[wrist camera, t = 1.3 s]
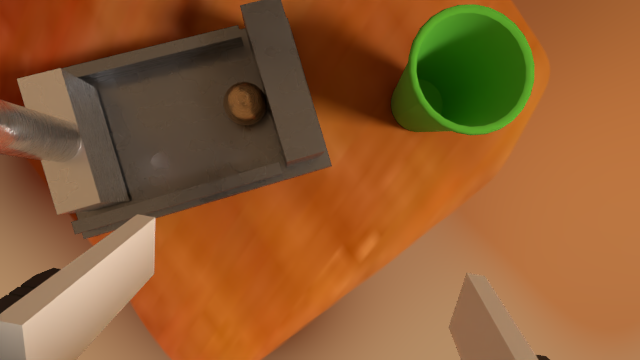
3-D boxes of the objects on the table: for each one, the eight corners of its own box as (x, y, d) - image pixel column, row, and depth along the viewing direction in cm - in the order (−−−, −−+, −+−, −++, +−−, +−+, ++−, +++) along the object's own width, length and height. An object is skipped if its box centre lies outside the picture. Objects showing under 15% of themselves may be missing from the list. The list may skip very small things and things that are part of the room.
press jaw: (87, 212, 31) (-293, 253, 10) (53, 98, 31) (-392, -84, 10) (135, 199, 31) (-140, 212, 11) (101, 86, 31) (-235, -112, 11)
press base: (92, 236, 33) (36, 250, 25) (47, 85, 33) (-23, 53, 25) (329, 166, 35) (342, 159, 27) (287, 25, 35) (288, -20, 27)
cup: (476, 120, 37) (559, 90, 26) (402, 169, 36) (455, 159, 25) (428, 43, 36) (491, -21, 25) (352, 90, 35) (384, 44, 24)
